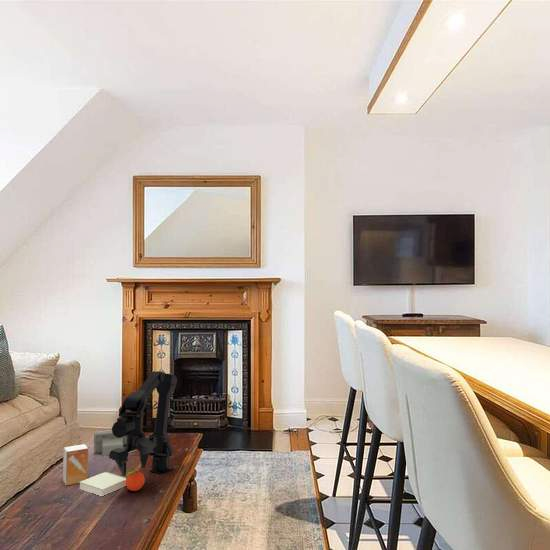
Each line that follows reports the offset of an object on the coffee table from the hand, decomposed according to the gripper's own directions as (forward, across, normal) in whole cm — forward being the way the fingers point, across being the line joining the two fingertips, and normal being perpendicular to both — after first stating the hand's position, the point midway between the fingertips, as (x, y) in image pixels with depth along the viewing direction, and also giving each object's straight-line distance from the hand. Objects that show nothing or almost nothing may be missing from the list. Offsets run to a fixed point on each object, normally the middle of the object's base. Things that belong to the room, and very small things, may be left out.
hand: (133, 472), depth 180 cm
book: (+7, -4, +12) cm, 14 cm away
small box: (+7, -6, +26) cm, 28 cm away
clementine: (+7, 0, 0) cm, 7 cm away
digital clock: (+7, +24, +41) cm, 48 cm away
